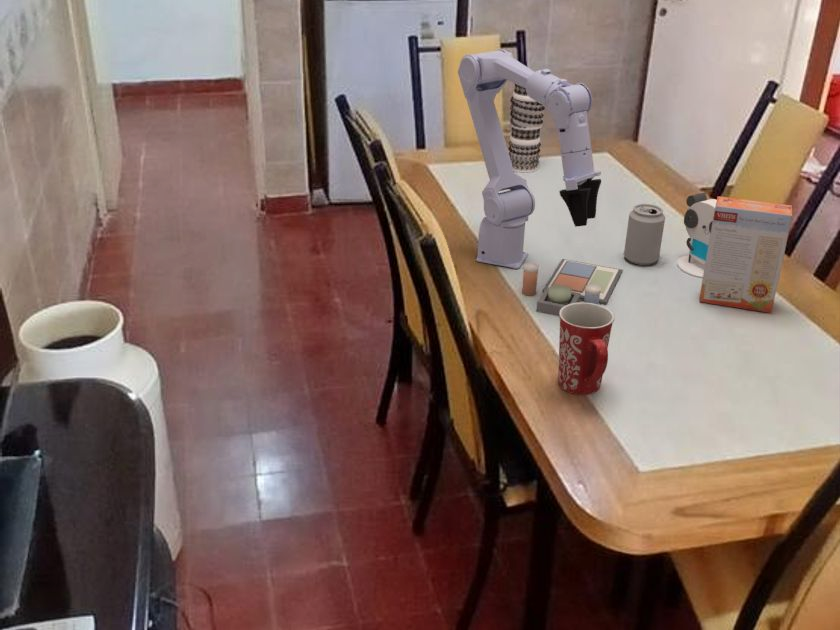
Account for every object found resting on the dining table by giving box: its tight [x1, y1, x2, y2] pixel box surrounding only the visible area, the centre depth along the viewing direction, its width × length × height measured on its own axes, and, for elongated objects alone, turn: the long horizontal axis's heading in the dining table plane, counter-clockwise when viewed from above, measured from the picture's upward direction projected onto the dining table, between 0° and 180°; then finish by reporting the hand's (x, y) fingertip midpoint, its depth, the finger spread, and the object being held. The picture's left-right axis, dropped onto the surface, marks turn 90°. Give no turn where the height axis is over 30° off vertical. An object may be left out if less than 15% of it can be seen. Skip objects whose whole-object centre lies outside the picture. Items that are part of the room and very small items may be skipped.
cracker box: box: [698, 196, 793, 314], centre depth 185 cm, size 14×6×21 cm, turn 71°
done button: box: [548, 285, 571, 305], centre depth 185 cm, size 4×4×2 cm
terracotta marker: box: [521, 261, 540, 297], centre depth 190 cm, size 3×3×6 cm
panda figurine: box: [676, 192, 717, 279], centre depth 200 cm, size 12×11×15 cm
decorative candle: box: [507, 83, 546, 174], centre depth 249 cm, size 9×9×25 cm
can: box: [623, 203, 666, 266], centre depth 203 cm, size 8×8×12 cm
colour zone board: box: [542, 258, 623, 306], centre depth 196 cm, size 13×16×1 cm
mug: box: [557, 301, 615, 396], centre depth 157 cm, size 13×9×14 cm
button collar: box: [535, 287, 581, 316], centre depth 186 cm, size 7×7×2 cm
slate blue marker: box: [583, 284, 601, 305], centre depth 182 cm, size 3×3×6 cm
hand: (585, 222), depth 181 cm, fingers open, 7 cm apart
